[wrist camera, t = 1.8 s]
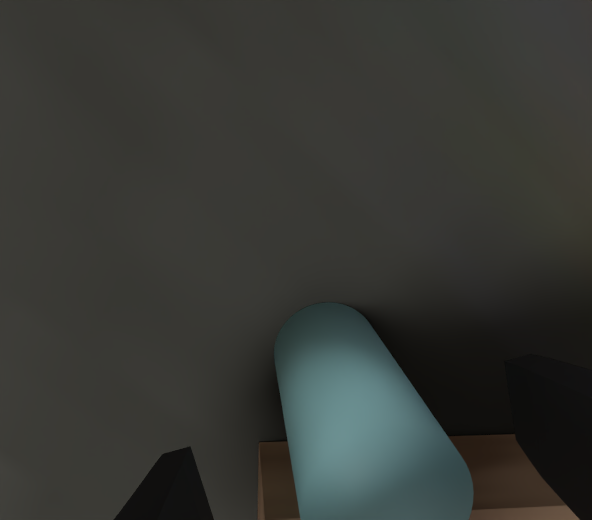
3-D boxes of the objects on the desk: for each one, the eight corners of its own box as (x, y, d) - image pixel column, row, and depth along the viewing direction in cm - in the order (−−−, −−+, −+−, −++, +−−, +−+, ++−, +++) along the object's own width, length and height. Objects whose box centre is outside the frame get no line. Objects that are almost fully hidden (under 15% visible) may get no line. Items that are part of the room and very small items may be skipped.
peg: (380, 302, 16) (482, 424, 10) (373, 398, 17) (463, 575, 10) (275, 302, 16) (303, 428, 9) (272, 400, 17) (297, 585, 10)
